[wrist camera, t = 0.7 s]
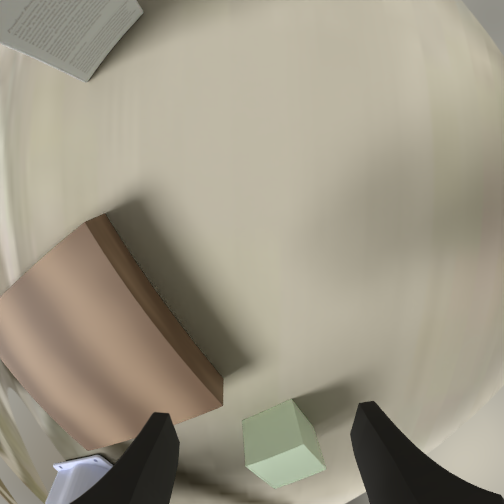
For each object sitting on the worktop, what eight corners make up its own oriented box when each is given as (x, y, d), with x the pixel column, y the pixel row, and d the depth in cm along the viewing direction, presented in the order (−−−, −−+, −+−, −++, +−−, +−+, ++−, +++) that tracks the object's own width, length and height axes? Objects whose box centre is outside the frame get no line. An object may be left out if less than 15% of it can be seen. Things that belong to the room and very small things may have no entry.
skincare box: (103, -7, 13) (24, -101, 2) (146, 13, 14) (76, -104, 3) (48, 62, 14) (-72, 10, 3) (86, 86, 15) (-45, 29, 4)
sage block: (268, 446, 24) (274, 488, 19) (242, 420, 23) (245, 466, 18) (313, 426, 24) (326, 469, 19) (291, 398, 22) (303, 444, 18)
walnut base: (97, 428, 22) (87, 450, 20) (-4, 307, 19) (-24, 322, 16) (223, 378, 21) (223, 405, 18) (105, 213, 18) (84, 222, 15)
